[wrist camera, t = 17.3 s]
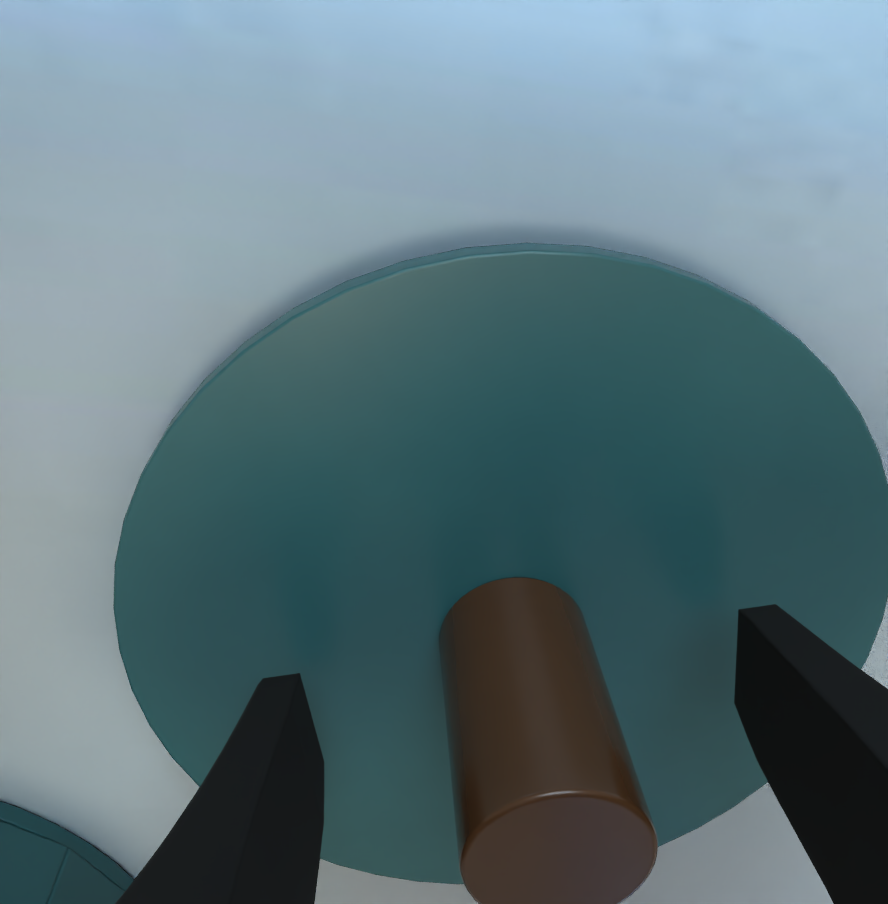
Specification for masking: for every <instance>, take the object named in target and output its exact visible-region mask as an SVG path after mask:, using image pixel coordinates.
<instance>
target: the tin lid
mask: <svg viewBox="0 0 888 904" xmlns="http://www.w3.org/2000/svg"><path fill="white" fill-rule="evenodd" d="M887 598H888V484H887V480H886V476H885V472H884V469H883V465H882V461H881V457H880V454H879V451H878V449H877V447H876V445H875V443H874V441H873V439H872V436H871V434H870V432H869V430H868V428H867V426H866V423H865V421H864V419H863V417H862V415H861V413H860V411H859V410H858V408H857V407H856V406H855V404H854V403H853V401H852V400H851V398H850V397H849V396H848V394H847V393H846V391H845V390H844V388H843V387H842V385H841V384H840V383H839V381H838V380H837V378H836V377H835V375H834V374H833V373H832V372H831V371H830V370H829V369H828V368H827V367H826V366H825V365H824V364H823V363H822V362H821V361H820V360H819V359H818V358H817V357H816V356H815V355H814V354H813V353H812V352H811V351H810V350H809V349H808V348H807V347H806V346H805V345H804V344H803V343H802V342H801V340H800V339H798V338H797V337H796V336H794V335H793V334H792V333H791V332H789V331H788V330H787V329H785V328H784V327H782V326H781V325H780V324H778V323H777V322H776V321H774V320H773V319H772V318H770V317H769V316H767V315H766V314H765V313H763V312H762V311H761V310H759V309H758V308H757V307H755V306H754V305H752V304H751V303H750V302H748V301H747V300H745V299H743V298H741V297H739V296H737V295H735V294H733V293H732V292H730V291H728V290H726V289H724V288H722V287H720V286H718V285H716V284H714V283H712V282H710V281H708V280H706V279H705V278H703V277H701V276H699V275H696V274H693V273H690V272H687V271H684V270H681V269H678V268H675V267H672V266H669V265H667V264H664V263H661V262H658V261H655V260H652V259H649V258H646V257H641V256H636V255H631V254H626V253H621V252H615V251H610V250H605V249H600V248H594V247H589V246H575V245H557V244H538V243H519V244H507V245H494V246H481V247H469V248H462V249H457V250H452V251H448V252H443V253H438V254H433V255H429V256H424V257H419V258H415V259H410V260H405V261H402V262H399V263H396V264H394V265H391V266H388V267H385V268H382V269H379V270H377V271H374V272H371V273H368V274H365V275H362V276H360V277H357V278H354V279H351V280H348V281H346V282H344V283H342V284H340V285H338V286H336V287H334V288H332V289H330V290H328V291H326V292H324V293H322V294H320V295H318V296H316V297H314V298H312V299H310V300H309V301H307V302H305V303H303V304H301V305H299V306H297V307H295V308H293V309H291V310H290V311H289V312H287V313H286V314H284V315H283V316H281V317H280V318H279V319H277V320H276V321H274V322H273V323H271V324H270V325H268V326H267V327H266V328H264V329H263V330H261V331H260V332H258V333H257V334H255V335H254V336H253V337H251V338H250V339H248V340H247V341H245V342H244V343H243V344H242V345H241V346H240V347H239V348H238V349H237V350H236V351H235V352H234V353H232V354H231V355H230V356H229V357H228V358H227V359H226V360H225V361H224V362H223V363H222V364H221V365H220V366H218V367H217V368H216V369H215V370H214V371H213V372H212V373H211V374H210V375H209V376H208V377H207V378H206V379H205V380H204V381H203V382H202V383H201V385H200V386H199V387H198V388H197V390H196V391H195V392H194V393H193V395H192V396H191V397H190V398H189V399H188V401H187V402H186V403H185V404H184V406H183V407H182V408H181V409H180V411H179V412H178V413H177V414H176V416H175V417H174V418H173V419H172V421H171V423H170V424H169V426H168V428H167V430H166V431H165V433H164V435H163V436H162V438H161V440H160V442H159V443H158V445H157V447H156V449H155V450H154V452H153V454H152V455H151V457H150V459H149V461H148V462H147V464H146V466H145V468H144V470H143V472H142V474H141V476H140V479H139V481H138V484H137V486H136V489H135V492H134V494H133V497H132V500H131V502H130V505H129V507H128V510H127V513H126V515H125V518H124V521H123V526H122V531H121V536H120V541H119V546H118V551H117V556H116V561H115V574H114V615H115V622H116V629H117V636H118V644H119V650H120V654H121V657H122V660H123V663H124V666H125V669H126V673H127V676H128V679H129V682H130V685H131V689H132V691H133V693H134V695H135V697H136V699H137V701H138V703H139V705H140V707H141V709H142V711H143V713H144V715H145V717H146V719H147V721H148V723H149V725H150V727H151V728H152V729H153V731H154V732H155V734H156V735H157V737H158V738H159V739H160V741H161V742H162V744H163V745H164V747H165V748H166V749H167V751H168V752H169V754H170V755H171V756H172V758H173V759H174V760H175V761H176V762H177V763H178V764H179V765H180V766H181V767H182V769H183V770H184V771H185V772H186V773H187V774H188V775H189V776H190V777H191V778H192V779H193V780H194V781H195V782H196V784H197V785H198V786H199V787H200V786H201V784H202V783H203V781H204V779H205V778H206V776H207V774H208V773H209V771H210V769H211V768H212V766H213V764H214V763H215V761H216V759H217V758H218V756H219V754H220V753H221V751H222V750H223V748H224V746H225V744H226V743H227V741H228V739H229V737H230V735H231V734H232V732H233V730H234V728H235V727H236V725H237V723H238V721H239V719H240V717H241V715H242V714H243V712H244V710H245V708H246V706H247V704H248V702H249V700H250V698H251V697H252V695H253V693H254V691H255V689H256V687H257V685H258V684H259V682H260V681H261V680H262V679H263V678H268V677H275V676H282V675H289V674H296V673H300V675H301V679H302V682H303V686H304V690H305V693H306V697H307V701H308V704H309V708H310V712H311V715H312V719H313V722H314V726H315V730H316V733H317V737H318V741H319V744H320V748H321V751H322V755H323V759H324V827H323V836H322V844H321V853H320V859H323V860H326V861H328V862H331V863H334V864H337V865H340V866H344V867H348V868H352V869H356V870H360V871H363V872H367V873H371V874H375V875H380V876H387V877H393V878H399V879H405V880H411V881H419V882H433V883H447V884H464V885H465V887H466V889H467V890H468V892H469V893H470V894H471V896H472V897H473V898H474V899H475V900H476V901H477V902H478V903H479V904H619V903H621V902H622V901H624V900H625V899H626V898H628V897H629V896H631V895H632V894H633V893H634V892H635V891H636V890H637V889H638V888H639V887H640V886H641V885H642V884H643V883H644V882H645V880H646V879H647V877H648V876H649V874H650V873H651V871H652V868H653V866H654V864H655V860H656V857H657V848H658V847H659V846H661V845H663V844H665V843H667V842H670V841H672V840H674V839H676V838H678V837H680V836H682V835H684V834H686V833H689V832H691V831H693V830H695V829H697V828H699V827H700V826H702V825H704V824H706V823H707V822H709V821H711V820H712V819H714V818H716V817H717V816H719V815H721V814H723V813H724V812H726V811H728V810H729V809H731V808H733V807H734V806H736V805H737V804H738V803H740V802H741V801H742V800H744V799H745V798H747V797H748V796H749V795H751V794H752V793H753V792H755V791H756V790H758V789H759V788H760V787H762V786H763V785H765V784H766V783H767V782H768V781H767V779H766V777H765V775H764V773H763V771H762V769H761V767H760V766H759V764H758V762H757V760H756V757H755V755H754V752H753V750H752V747H751V745H750V742H749V740H748V738H747V735H746V732H745V730H744V727H743V725H742V722H741V719H740V717H739V714H738V711H737V709H736V706H735V704H734V695H735V673H736V652H737V631H738V609H745V608H752V607H759V606H766V605H773V604H776V605H778V606H779V607H780V608H782V609H783V610H784V611H785V612H787V613H788V614H789V615H791V616H792V617H793V618H794V619H796V620H797V621H798V622H800V623H801V624H802V625H803V626H805V627H806V628H807V629H809V630H810V631H811V632H812V633H814V634H815V635H816V636H818V637H819V638H820V639H821V640H823V641H824V642H825V643H826V644H828V645H829V646H830V647H832V648H833V649H834V650H836V651H837V652H838V653H839V654H841V655H842V656H843V657H845V658H846V659H847V660H849V661H850V662H851V663H853V664H854V665H855V666H857V667H858V668H859V669H862V667H863V665H864V663H865V662H866V660H867V658H868V656H869V653H870V651H871V648H872V645H873V643H874V640H875V638H876V635H877V632H878V630H879V627H880V625H881V622H882V620H883V615H884V611H885V607H886V602H887Z"/></svg>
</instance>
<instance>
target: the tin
mask: <svg viewBox="0 0 888 904" xmlns="http://www.w3.org/2000/svg"><path fill="white" fill-rule="evenodd" d="M133 881H134V879H133V878H131V877H130V876H129V875H128V874H127V873H126V872H125V871H124V870H123V869H122V868H121V867H120V866H119V865H117V864H116V863H115V862H114V861H113V860H111V859H110V858H109V857H107V856H106V855H104V854H103V853H102V852H100V851H99V850H98V849H96V848H95V847H93V846H92V845H91V844H89V843H88V842H86V841H84V840H83V839H81V838H79V837H77V836H76V835H74V834H72V833H70V832H69V831H67V830H65V829H63V828H62V827H60V826H58V825H56V824H54V823H52V822H50V821H48V820H46V819H43V818H41V817H39V816H37V815H34V814H32V813H30V812H28V811H25V810H23V809H21V808H19V807H16V806H13V805H10V804H7V803H4V802H1V801H0V904H115V903H116V902H117V900H118V899H119V898H120V897H121V896H122V895H123V893H124V892H125V891H126V890H127V888H128V887H129V886H130V885H131V883H132V882H133Z"/></svg>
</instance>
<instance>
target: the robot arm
mask: <svg viewBox="0 0 888 904" xmlns="http://www.w3.org/2000/svg"><path fill="white" fill-rule="evenodd" d="M734 704H735V706H736V709H737V711H738V714H739V717H740V719H741V722H742V725H743V727H744V730H745V732H746V735H747V738H748V740H749V742H750V745H751V747H752V750H753V752H754V755H755V757H756V760H757V762H758V764H759V766H760V767H761V769H762V771H763V773H764V775H765V777H766V779H767V781H768V783H769V784H770V786H771V788H772V790H773V792H774V794H775V796H776V797H777V799H778V801H779V803H780V805H781V807H782V809H783V810H784V812H785V814H786V816H787V818H788V819H789V821H790V823H791V825H792V827H793V829H794V830H795V832H796V834H797V836H798V838H799V840H800V841H801V843H802V845H803V847H804V849H805V851H806V852H807V854H808V856H809V858H810V860H811V862H812V863H813V865H814V867H815V869H816V871H817V873H818V874H819V876H820V878H821V880H822V882H823V884H824V885H825V887H826V889H827V891H828V893H829V895H830V897H831V899H832V901H833V903H834V904H888V689H887V688H885V687H884V686H883V685H881V684H880V683H878V682H877V681H876V680H874V679H873V678H872V677H870V676H869V675H867V674H866V673H865V672H863V671H862V670H861V669H859V668H858V667H857V666H855V665H854V664H853V663H851V662H850V661H849V660H847V659H846V658H845V657H843V656H842V655H841V654H839V653H838V652H837V651H836V650H834V649H833V648H832V647H830V646H829V645H828V644H826V643H825V642H824V641H823V640H821V639H820V638H819V637H818V636H816V635H815V634H814V633H812V632H811V631H810V630H809V629H807V628H806V627H805V626H803V625H802V624H801V623H800V622H798V621H797V620H796V619H794V618H793V617H792V616H791V615H789V614H788V613H787V612H785V611H784V610H783V609H782V608H780V607H779V606H778V605H776V604H773V605H766V606H759V607H752V608H745V609H738V631H737V652H736V673H735V695H734ZM323 827H324V759H323V755H322V751H321V748H320V744H319V741H318V737H317V733H316V730H315V726H314V722H313V719H312V715H311V712H310V708H309V704H308V701H307V697H306V693H305V690H304V686H303V682H302V679H301V675H300V673H296V674H289V675H282V676H275V677H268V678H263V679H262V680H261V681H260V682H259V684H258V685H257V687H256V689H255V691H254V693H253V695H252V697H251V698H250V700H249V702H248V704H247V706H246V708H245V710H244V712H243V714H242V715H241V717H240V719H239V721H238V723H237V725H236V727H235V728H234V730H233V732H232V734H231V735H230V737H229V739H228V741H227V743H226V744H225V746H224V748H223V750H222V751H221V753H220V754H219V756H218V758H217V759H216V761H215V763H214V764H213V766H212V768H211V769H210V771H209V773H208V774H207V776H206V778H205V779H204V781H203V783H202V784H201V786H200V788H199V789H198V791H197V792H196V794H195V795H194V797H193V798H192V800H191V801H190V803H189V804H188V806H187V807H186V809H185V810H184V812H183V813H182V815H181V816H180V818H179V819H178V821H177V822H176V824H175V825H174V827H173V828H172V830H171V831H170V833H169V834H168V835H167V837H166V838H165V840H164V841H163V842H162V844H161V845H160V847H159V848H158V849H157V851H156V852H155V853H154V855H153V856H152V857H151V859H150V860H149V861H148V863H147V864H146V865H145V867H144V868H143V869H142V871H141V872H140V873H139V874H138V876H137V877H136V878H135V879H134V881H133V882H132V883H131V885H130V886H129V887H128V888H127V890H126V891H125V892H124V893H123V895H122V896H121V897H120V898H119V899H118V900H117V902H116V903H115V904H314V901H315V893H316V885H317V878H318V869H319V861H320V853H321V844H322V836H323Z"/></svg>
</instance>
